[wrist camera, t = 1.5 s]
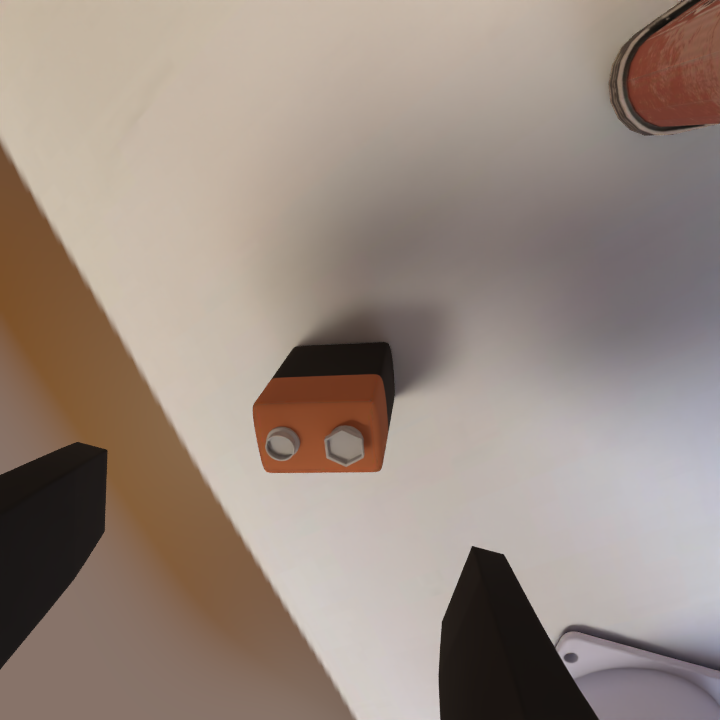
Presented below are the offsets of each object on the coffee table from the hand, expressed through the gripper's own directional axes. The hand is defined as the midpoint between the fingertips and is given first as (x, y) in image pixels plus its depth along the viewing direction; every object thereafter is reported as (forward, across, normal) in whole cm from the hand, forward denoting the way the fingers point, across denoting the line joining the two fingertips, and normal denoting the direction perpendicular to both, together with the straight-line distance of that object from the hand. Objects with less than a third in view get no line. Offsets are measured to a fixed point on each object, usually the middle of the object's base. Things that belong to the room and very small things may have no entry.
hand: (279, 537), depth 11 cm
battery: (+9, 0, 0) cm, 9 cm away
